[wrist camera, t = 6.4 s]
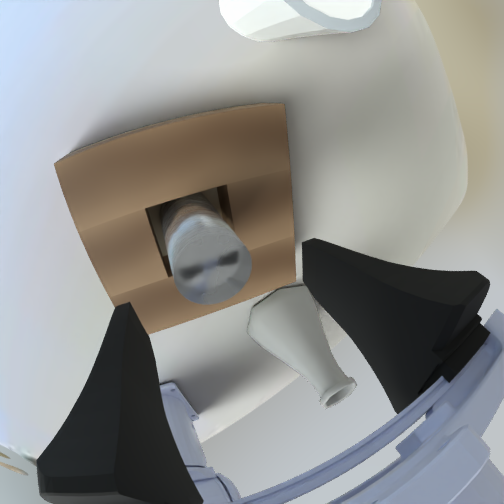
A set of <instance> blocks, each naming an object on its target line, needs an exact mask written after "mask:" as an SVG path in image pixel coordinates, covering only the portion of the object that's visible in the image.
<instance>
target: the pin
mask: <svg viewBox="0 0 504 504" xmlns="http://www.w3.org/2000/svg"><path fill="white" fill-rule="evenodd" d="M160 221H161V226H162V231H163V235H164V240H165V244H166V249H167V253H168V257H169V262H170V266H171V270H172V274H173V278H174V282H175V285H176V287H177V289H178V291H179V292H180V293H181V294H182V295H183V296H184V297H185V298H186V299H188V300H190V301H192V302H194V303H198V304H203V305H210V304H217V303H220V302H223V301H226V300H228V299H230V298H231V297H233V296H234V295H236V294H237V293H238V292H239V291H240V290H241V289H242V288H243V287H244V285H245V284H246V282H247V281H248V279H249V277H250V273H251V269H252V260H251V256H250V253H249V251H248V249H247V248H246V246H245V245H244V244H243V243H242V241H241V240H240V239H239V238H238V236H237V235H236V234H235V233H234V231H233V230H232V229H231V228H230V226H229V225H228V224H227V223H226V221H225V220H224V219H223V218H222V217H221V215H220V214H219V213H218V212H217V210H216V209H215V208H214V207H213V205H212V204H211V203H210V202H209V200H208V199H207V198H206V197H205V196H204V195H203V194H202V193H201V192H197V193H194V194H190V195H187V196H183V197H180V198H177V199H174V200H170V201H167V202H164V203H162V205H161V208H160Z"/></svg>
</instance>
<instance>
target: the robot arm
mask: <svg viewBox="0 0 504 504" xmlns="http://www.w3.org/2000/svg"><path fill="white" fill-rule="evenodd" d="M302 263H303V282H304V283H305V285H306V286H307V288H308V289H309V291H310V292H311V294H312V295H313V296H314V298H315V299H316V300H317V301H318V302H319V304H320V305H321V306H322V307H323V308H324V309H325V310H326V311H327V312H328V313H329V314H330V315H331V317H332V318H333V319H334V320H335V321H336V322H337V323H338V324H339V325H340V326H341V327H342V328H343V330H344V331H345V332H346V333H347V334H348V335H349V336H350V338H351V339H352V340H353V342H354V343H355V344H356V346H357V347H358V349H359V350H360V351H361V353H362V354H363V355H364V357H365V359H366V360H367V362H368V363H369V365H370V366H371V368H372V369H373V371H374V373H375V374H376V376H377V378H378V379H379V381H380V383H381V385H382V386H383V388H384V390H385V392H386V394H387V396H388V398H389V400H390V401H391V404H392V406H393V408H394V410H395V412H396V413H397V414H398V415H396V416H395V417H394V418H393V419H391V420H390V421H389V422H387V423H386V424H385V425H383V426H382V427H380V428H379V429H378V430H376V431H375V432H373V433H372V434H370V435H369V436H367V437H366V438H364V439H363V440H361V441H360V442H359V443H357V444H355V445H354V446H352V447H350V448H349V449H347V450H346V451H344V452H342V453H340V454H339V455H337V456H335V457H334V458H332V459H330V460H328V461H326V462H324V463H323V464H321V465H319V466H317V467H315V468H313V469H311V470H309V471H307V472H305V473H303V474H301V475H299V476H297V477H294V478H292V479H290V480H288V481H286V482H283V483H281V484H279V485H276V486H274V487H271V488H269V489H266V490H264V491H261V492H258V493H256V494H253V495H250V496H247V497H244V498H241V496H240V494H239V492H238V490H237V488H236V487H235V485H234V484H233V483H232V481H231V480H230V479H229V478H227V477H225V476H224V475H222V474H221V473H215V471H214V469H213V467H207V466H206V457H205V455H204V452H203V449H202V447H201V444H200V441H199V439H198V436H197V433H196V430H195V428H194V425H193V422H192V421H195V420H198V419H199V416H198V414H197V413H196V412H195V410H194V409H193V408H192V406H191V405H190V404H189V402H188V401H187V400H186V398H185V397H184V396H183V394H182V393H181V391H180V390H179V389H178V387H177V386H176V384H175V383H167V384H164V385H160V384H159V379H158V373H157V367H156V361H155V356H154V353H153V349H152V345H151V342H150V338H149V336H148V334H147V332H146V330H145V329H144V327H143V325H142V323H141V321H140V320H139V318H138V316H137V314H136V312H135V310H134V308H133V307H132V305H131V303H130V302H127V303H124V304H121V305H118V306H116V307H115V309H114V312H113V315H112V317H111V320H110V323H109V326H108V329H107V331H106V334H105V337H104V340H103V342H102V345H101V348H100V351H99V353H98V356H97V358H96V361H95V363H94V366H93V368H92V371H91V373H90V375H89V378H88V380H87V382H86V384H85V386H84V388H83V390H82V392H81V394H80V396H79V398H78V399H77V401H76V403H75V405H74V407H73V408H72V410H71V412H70V414H69V416H68V417H67V419H66V420H65V422H64V424H63V425H62V427H61V428H60V430H59V431H58V433H57V434H56V436H55V437H54V438H53V440H52V441H51V443H50V444H49V445H48V446H47V448H46V449H45V450H44V452H43V453H42V454H41V455H40V457H39V458H38V459H37V474H38V485H39V493H40V496H41V497H42V498H43V499H44V500H46V501H48V502H50V503H53V504H284V503H286V502H288V501H291V500H293V499H295V498H297V497H300V496H302V495H304V494H306V493H308V492H310V491H312V490H314V489H316V488H318V487H320V486H322V485H324V484H326V483H327V482H330V481H331V480H333V479H335V478H337V477H339V476H340V475H342V474H344V473H345V472H347V471H349V470H350V469H352V468H354V467H355V466H357V465H358V464H360V463H362V462H363V461H365V460H366V459H368V458H369V457H371V456H372V455H374V454H375V453H376V452H378V451H379V450H380V449H382V448H383V447H385V446H386V445H387V444H389V443H390V442H392V441H393V440H394V439H395V438H397V437H398V436H399V435H401V434H402V433H403V432H404V431H405V430H407V429H408V428H409V427H410V426H412V425H413V424H414V423H415V422H416V421H417V420H419V419H420V418H421V417H422V416H423V415H424V414H425V413H426V412H427V413H426V420H425V421H424V422H423V423H422V424H421V425H420V426H418V427H417V428H416V429H415V430H414V431H413V432H412V433H411V434H410V435H409V436H408V437H406V438H405V439H404V440H403V441H402V442H401V443H399V444H398V445H397V446H396V450H397V451H398V452H399V453H400V455H401V456H400V457H399V458H398V459H396V460H395V461H394V462H392V463H391V464H390V465H388V466H387V467H386V468H384V469H383V470H381V471H380V472H378V473H377V474H376V475H374V476H373V477H371V478H370V479H368V480H366V481H365V482H363V483H362V484H360V485H358V486H357V487H355V488H354V489H352V490H350V491H348V492H347V493H345V494H343V495H342V496H340V497H338V498H336V499H334V500H332V501H331V502H329V503H327V504H504V476H503V475H502V474H501V473H500V471H499V470H498V469H497V468H496V467H495V465H494V464H493V463H492V462H491V461H490V459H489V456H490V448H489V447H488V445H487V444H486V443H485V442H484V441H483V440H482V439H481V437H482V435H483V433H484V432H485V430H486V429H487V427H488V425H489V424H490V422H491V420H492V418H493V416H494V415H495V413H496V411H497V409H498V408H499V405H500V404H501V402H502V400H503V398H504V314H503V313H501V312H500V311H499V310H498V309H496V310H495V311H494V313H493V314H492V315H491V317H490V318H489V319H488V321H487V322H486V324H485V325H484V326H483V325H481V324H480V322H481V320H482V318H481V317H480V316H479V315H478V314H477V313H478V311H479V309H480V307H481V305H482V303H483V301H484V299H485V297H486V295H487V292H488V290H489V287H490V281H489V280H488V279H487V278H486V277H484V276H483V275H481V274H480V273H478V272H477V271H440V270H429V269H422V268H415V267H410V266H405V265H400V264H396V263H391V262H387V261H384V260H380V259H377V258H374V257H370V256H367V255H364V254H361V253H358V252H355V251H352V250H349V249H346V248H344V247H341V246H338V245H335V244H332V243H329V242H326V241H323V240H320V239H316V238H313V239H310V240H307V241H305V242H302Z"/></svg>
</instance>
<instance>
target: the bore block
mask: <svg viewBox="0 0 504 504" xmlns="http://www.w3.org/2000/svg"><path fill="white" fill-rule="evenodd" d="M54 166H55V170H56V173H57V176H58V179H59V182H60V185H61V188H62V191H63V194H64V197H65V200H66V203H67V205H68V208H69V211H70V213H71V216H72V218H73V221H74V223H75V226H76V228H77V231H78V233H79V235H80V238H81V240H82V242H83V245H84V247H85V249H86V251H87V254H88V256H89V258H90V260H91V262H92V264H93V266H94V268H95V270H96V272H97V274H98V276H99V278H100V280H101V282H102V284H103V286H104V288H105V290H106V292H107V294H108V296H109V297H110V299H111V301H112V303H113V305H114V307H116V306H118V305H121V304H124V303H127V302H130V303H131V305H132V307H133V308H134V310H135V312H136V314H137V316H138V318H139V320H140V321H141V323H142V325H143V327H144V329H145V330H146V332H147V334H151V333H155V332H158V331H161V330H164V329H167V328H170V327H173V326H176V325H179V324H182V323H184V322H187V321H190V320H193V319H196V318H199V317H202V316H205V315H207V314H210V313H213V312H216V311H219V310H221V309H224V308H227V307H230V306H232V305H235V304H238V303H241V302H243V301H246V300H249V299H251V298H254V297H256V296H259V295H262V294H264V293H267V292H270V291H272V290H275V289H277V288H280V287H282V286H285V285H287V284H290V283H293V282H295V281H296V264H295V239H294V218H293V201H292V185H291V171H290V158H289V146H288V134H287V124H286V113H285V104H280V103H258V104H250V105H243V106H236V107H230V108H224V109H218V110H213V111H208V112H203V113H198V114H193V115H188V116H184V117H180V118H176V119H171V120H167V121H164V122H160V123H156V124H152V125H149V126H145V127H142V128H139V129H135V130H132V131H129V132H126V133H123V134H120V135H117V136H114V137H111V138H108V139H105V140H102V141H99V142H97V143H94V144H91V145H89V146H86V147H84V148H81V149H79V150H76V151H74V152H71V153H69V154H67V155H66V156H64V157H63V158H61V159H60V160H58V161H57V162H56V163H54ZM197 192H201V193H202V194H203V195H204V196H205V197H206V198H207V199H208V200H209V202H210V203H211V204H212V205H213V207H214V208H215V209H216V210H217V212H218V213H219V214H220V215H221V217H222V218H223V219H224V220H225V221H226V223H227V224H228V225H229V226H230V228H231V229H232V230H233V231H234V233H235V234H236V235H237V236H238V238H239V239H240V240H241V241H242V243H243V244H244V245H245V246H246V248H247V249H248V251H249V253H250V256H251V260H252V269H251V273H250V277H249V279H248V281H247V282H246V284H245V285H244V287H243V288H242V289H241V290H240V291H239V292H238V293H237V294H236V295H234V296H233V297H231V298H230V299H228V300H226V301H223V302H220V303H217V304H210V305H203V304H198V303H194V302H192V301H190V300H188V299H186V298H185V297H184V296H183V295H182V294H181V293H180V292H179V291H178V289H177V287H176V285H175V282H174V278H173V274H172V270H171V266H170V262H169V257H168V253H167V249H166V244H165V240H164V235H163V231H162V226H161V221H160V208H161V205H162V203H164V202H167V201H170V200H174V199H177V198H180V197H183V196H187V195H190V194H194V193H197Z"/></svg>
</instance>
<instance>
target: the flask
mask: <svg viewBox="0 0 504 504" xmlns="http://www.w3.org/2000/svg"><path fill="white" fill-rule="evenodd" d="M247 333H248V334H249V335H250V336H251V337H252V338H253V339H254V340H255V341H256V342H257V343H258V344H259V345H260V346H261V347H262V348H264V349H265V350H266V351H268V352H269V353H271V354H272V355H274V356H275V357H277V358H278V359H280V360H281V361H283V362H284V363H285V364H287V365H288V366H289V367H291V368H292V369H294V370H295V371H296V372H298V373H299V374H301V375H302V376H303V377H304V378H305V379H306V380H307V381H308V382H309V383H310V384H311V385H312V386H313V387H314V389H315V390H316V391H317V393H318V394H319V396H320V398H321V399H320V404H321V405H322V406H323V407H324V408H325V409H327V408H329V407H332V406H334V405H336V404H338V403H340V402H341V401H342V400H344V399H345V398H346V397H347V396H349V395H350V394H351V393H352V392H353V391H354V389H355V388H356V386H357V384H356V381H355V380H354V379H353V378H352V377H349V378H348V377H347V376H346V375H345V374H344V372H343V371H342V370H341V368H340V367H339V366H338V364H337V362H336V360H335V359H334V357H333V355H332V353H331V350H330V347H329V344H328V341H327V338H326V336H325V333H324V330H323V327H322V323H321V320H320V317H319V313H318V310H317V307H316V304H315V302H314V300H313V298H312V296H311V294H310V292H309V290H308V288H307V286H306V285H305V286H299V287H292V288H285V289H279V290H277V291H276V292H275V293H273V294H272V295H270V296H269V297H268V298H266V299H265V300H263V301H262V302H261V303H259V304H258V305H256V306H255V307H253V308H252V309H251V314H250V319H249V324H248V329H247Z"/></svg>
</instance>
